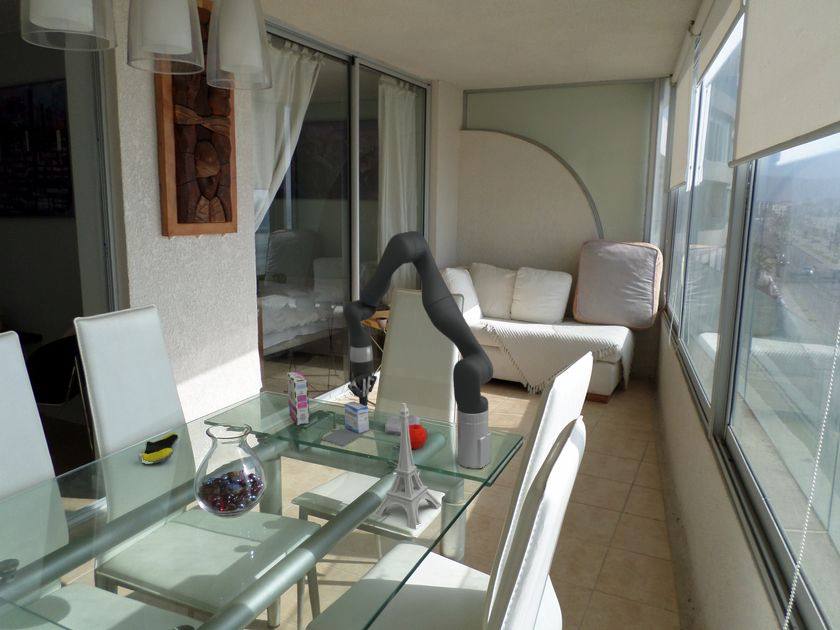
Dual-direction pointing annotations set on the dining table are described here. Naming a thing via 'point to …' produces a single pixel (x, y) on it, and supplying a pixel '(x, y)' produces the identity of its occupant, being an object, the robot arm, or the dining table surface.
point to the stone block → (399, 424)
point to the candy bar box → (298, 398)
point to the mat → (341, 437)
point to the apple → (417, 436)
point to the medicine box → (356, 417)
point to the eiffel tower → (407, 481)
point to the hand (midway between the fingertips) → (363, 405)
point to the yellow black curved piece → (159, 449)
